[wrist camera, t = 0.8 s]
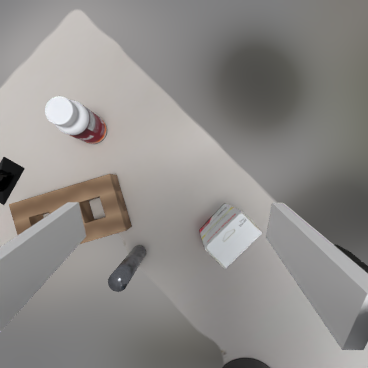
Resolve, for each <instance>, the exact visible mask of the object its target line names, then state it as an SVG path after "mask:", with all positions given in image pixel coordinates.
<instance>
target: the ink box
mask: <svg viewBox="0 0 368 368" xmlns="http://www.w3.org/2000/svg"><path fill="white" fill-rule="evenodd" d="M199 232H200V235H201V238H202V242H203V245H204V249H205V250H206V251H207V252H208V253H209V254H210V255H211V256H212V257H213V258H214V259H215V260H216V261H217V262H218V263H219V264H220V265H221V266H222V267H223V268H224V269H226V268H227V267H228V266H229V265H230V264H231V263H232V262H233V261H234V260H235V259H236V258H238V257H239V256H240V255H241V254H242V253H243V252H244V251H245V250H246V249H247V248H248V247H249V246H250V245H251V244H252V243H253V242H254V241H255V240H256V239H257V238H258V237H259V236H260V235H261V234H262V231H261V230H260V229H259V228H258V227H257V225H256V224H255V223H254V222H253V221H252V220H251V219H250V218H249V217H248V216H247V215H246V214H244V213H243V212H242V211H241V210H239V209H237V208H234V207H232V206H230V205H228V204H226V203H225V204H224V205H223V206H222V207H221V208H220V209H219V210H218V211H217V212H216V213H215V214H214V215H213V216H212V217H211V218H210V219H209V220H208V222H207V223H206V224H205V225H204V226H203V227H202V228H201V229H200V230H199Z"/></svg>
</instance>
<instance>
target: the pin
mask: <svg viewBox="0 0 368 368" xmlns="http://www.w3.org/2000/svg"><path fill="white" fill-rule="evenodd" d="M145 255H146V250H145V248H144V247H143V246H140V245H138V246H136V247H134V249H133V250H132V251H131V252H130V253H129V254H128V256H127V257H126V258H125V259H124V260H123V261H122V263H121V264H120V265H119V266H118V267H117V269H116V270H115V271H114V272H113V273H112V274H111V276H110V277H109V279H108V284H109V287H110V288H111V289H112V290H113V291H117V292H119V291H122V290H124V289H125V288H126V286H127V284H128V283H129V281H130V279H131V278H132V276H133V275H134V273H135V271H136V269H137V268H138V266H139V265H140V263H141V261H142V260H143V258H144V256H145Z"/></svg>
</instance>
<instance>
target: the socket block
mask: <svg viewBox="0 0 368 368" xmlns="http://www.w3.org/2000/svg"><path fill="white" fill-rule="evenodd" d="M99 197H100V199H101V202H102V206H103V209H104V213H105V216H106V217H102V218H99V219H96V220H94V218H93V214H92V211H91V207H90V204H89V200H93V199H96V198H99ZM67 202H79V206H80V210H81V215H82V219H83V224H84V228H85V233H86V237H85V238H84V239H83V241H82V242H81V243H80V244H82V243H85V242H89V241H92V240H95V239H99V238H102V237H105V236H109V235H112V234H116V233H119V232H123V231H126V230H127V229H129V228H130V227H131V222H130V219H129V216H128V212H127V209H126V205H125V202H124V199H123V195H122V192H121V188H120V185H119V182H118V178H117V175H113V174H108V175H105V176H101V177H98V178H95V179H91V180H88V181H85V182H82V183H78V184H75V185H72V186H68V187H65V188H62V189H58V190H55V191H52V192H48V193H45V194H42V195H39V196H35V197H32V198H29V199H25V200H22V201H19V202H15V203H12V204H9V207H10V210H11V214H12V217H13V220H14V224H15V227H16V231H17V234H18V235H19V234H21V233H22V232H24V231H25V230H27V229H28V228H30V227H31V226H33V225H34V224H36V223H37V222H39V221H40V220H42V219H43V218H44V217H43V214H46V213H50V214H51V213H52V212H54V211H55V210H57V209H58V208H60V207H61V206H63V205H64V204H66V203H67Z"/></svg>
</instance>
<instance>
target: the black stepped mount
mask: <svg viewBox="0 0 368 368" xmlns="http://www.w3.org/2000/svg"><path fill="white" fill-rule="evenodd" d="M23 171H24V168H23V167H21V166H20V165H18V164H16V163H14V162H13V161H11V160H9V159H7V158H5V157H3V159H2V161H1V163H0V203H1V204H3V205H4V204H5V203H6V201H7V199H8V197H9V196H10V194H11V192H12V190H13V188H14V187H15V185H16V183H17V181H18V180H19V178H20V176H21V174H22V172H23Z"/></svg>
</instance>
